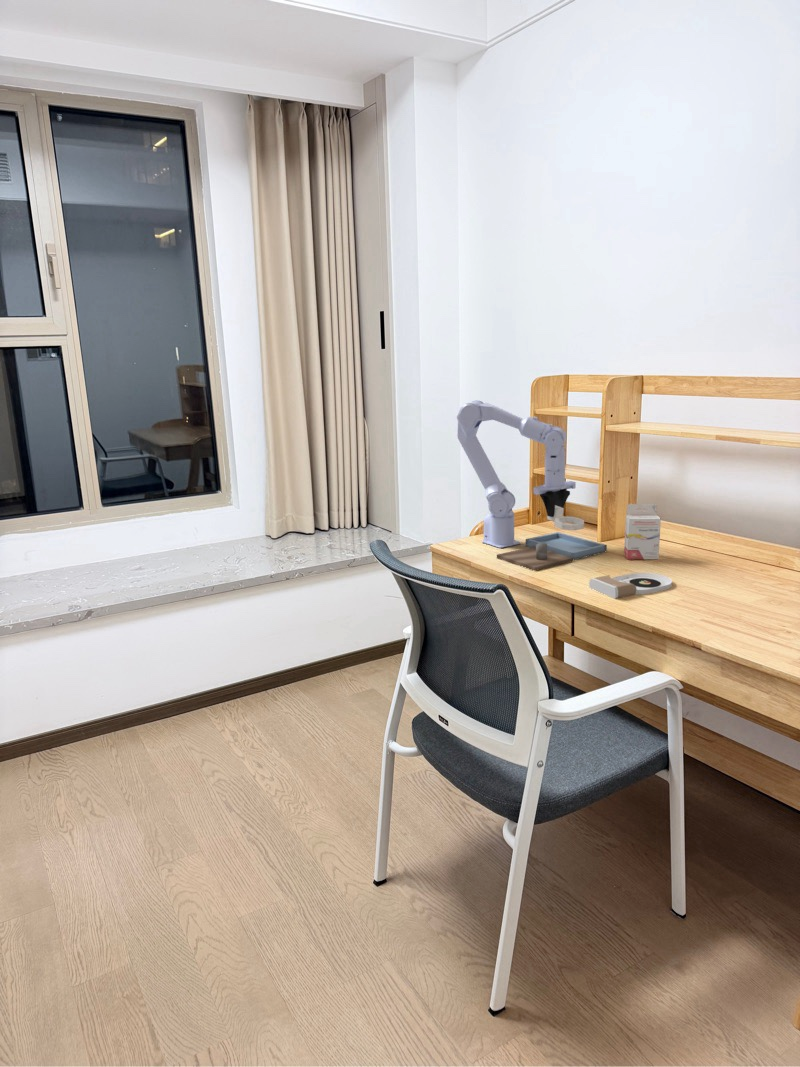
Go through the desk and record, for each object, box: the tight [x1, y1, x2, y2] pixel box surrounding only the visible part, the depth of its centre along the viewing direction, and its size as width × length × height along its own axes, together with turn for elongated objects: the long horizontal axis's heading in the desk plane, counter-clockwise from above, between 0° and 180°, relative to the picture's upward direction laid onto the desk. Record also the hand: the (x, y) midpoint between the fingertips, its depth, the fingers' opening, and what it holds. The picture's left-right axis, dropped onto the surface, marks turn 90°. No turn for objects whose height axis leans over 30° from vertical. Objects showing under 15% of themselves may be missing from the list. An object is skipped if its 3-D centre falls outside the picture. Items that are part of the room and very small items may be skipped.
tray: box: [525, 531, 608, 561], centre depth 219 cm, size 20×13×2 cm, turn 31°
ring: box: [546, 505, 585, 531], centre depth 216 cm, size 12×8×4 cm
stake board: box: [496, 543, 574, 571], centre depth 209 cm, size 16×14×5 cm
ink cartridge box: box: [623, 503, 662, 560], centre depth 206 cm, size 9×5×15 cm, turn 84°
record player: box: [588, 572, 673, 600], centre depth 184 cm, size 12×3×20 cm
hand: (554, 515), depth 220 cm, fingers closed on ring, 2 cm apart
